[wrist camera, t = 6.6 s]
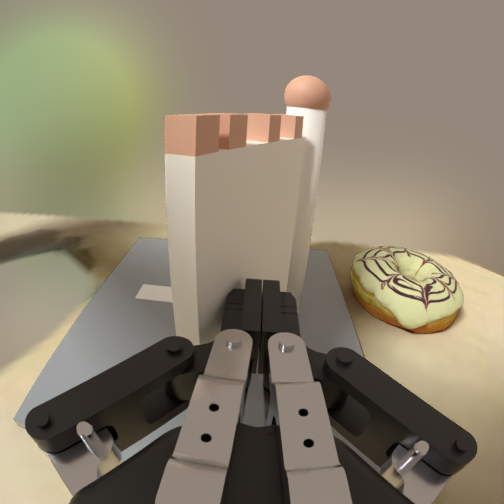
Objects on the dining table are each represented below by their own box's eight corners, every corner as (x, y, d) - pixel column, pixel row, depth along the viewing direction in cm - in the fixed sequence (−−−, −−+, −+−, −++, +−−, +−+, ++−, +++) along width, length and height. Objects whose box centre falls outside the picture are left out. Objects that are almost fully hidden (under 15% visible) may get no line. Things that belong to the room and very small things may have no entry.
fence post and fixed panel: (265, 314, 22) (287, 70, 15) (265, 245, 32) (278, 84, 25) (304, 316, 22) (336, 76, 15) (292, 247, 32) (309, 87, 25)
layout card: (18, 425, 11) (12, 418, 11) (140, 242, 33) (140, 236, 33) (390, 475, 11) (395, 469, 11) (325, 255, 33) (326, 249, 32)
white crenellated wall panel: (267, 309, 22) (285, 114, 16) (282, 314, 22) (306, 116, 16) (185, 401, 14) (165, 115, 8) (205, 412, 14) (196, 115, 8)
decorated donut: (412, 360, 19) (432, 319, 17) (322, 288, 27) (329, 250, 26) (468, 314, 24) (483, 280, 22) (391, 264, 32) (400, 233, 30)
